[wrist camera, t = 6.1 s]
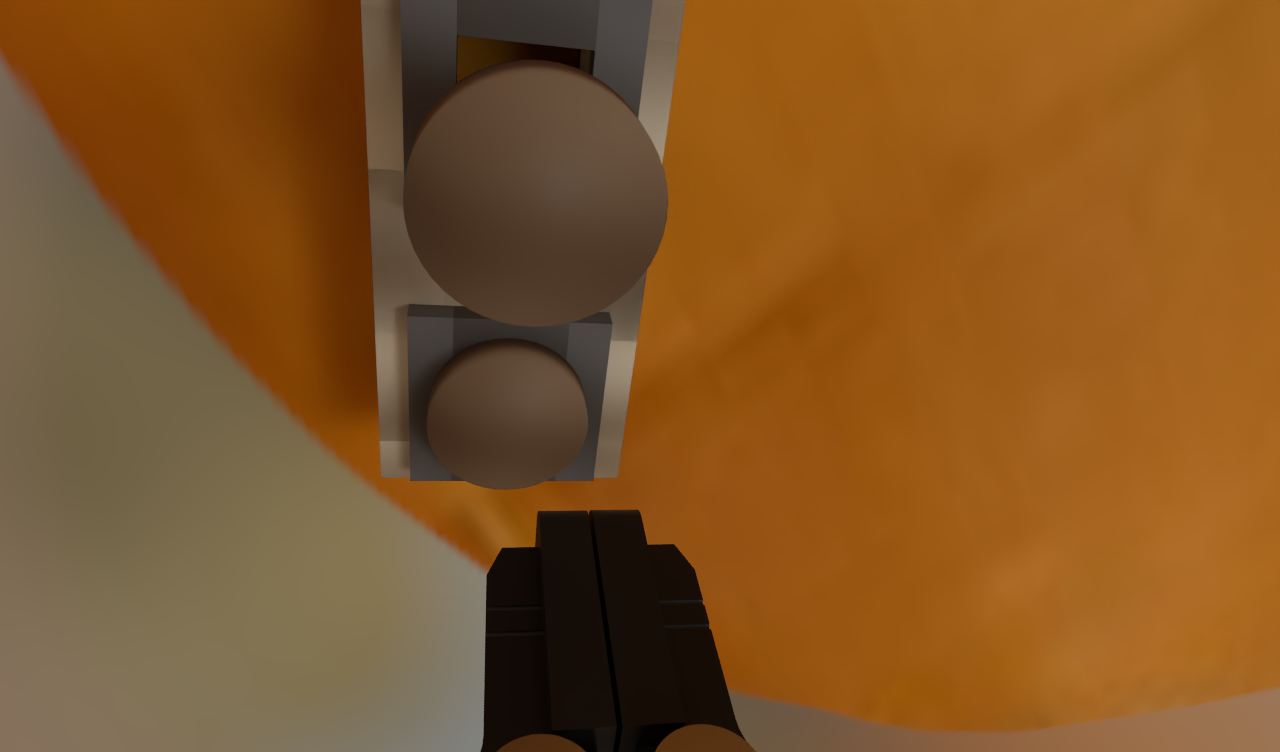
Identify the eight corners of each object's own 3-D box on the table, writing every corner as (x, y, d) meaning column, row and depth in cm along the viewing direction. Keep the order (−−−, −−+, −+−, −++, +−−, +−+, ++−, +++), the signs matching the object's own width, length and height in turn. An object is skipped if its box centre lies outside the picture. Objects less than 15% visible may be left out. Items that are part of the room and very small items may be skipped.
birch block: (381, -75, 23) (353, -62, 18) (654, -39, 25) (695, -17, 20) (395, 396, 31) (378, 493, 26) (600, 400, 33) (620, 492, 28)
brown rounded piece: (424, 4, 19) (399, 59, 13) (630, 28, 20) (685, 88, 14) (426, 205, 21) (405, 321, 16) (609, 217, 22) (649, 331, 17)
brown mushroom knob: (437, 262, 28) (426, 355, 23) (574, 269, 29) (595, 360, 24) (437, 379, 31) (427, 489, 25) (564, 382, 32) (581, 489, 26)
